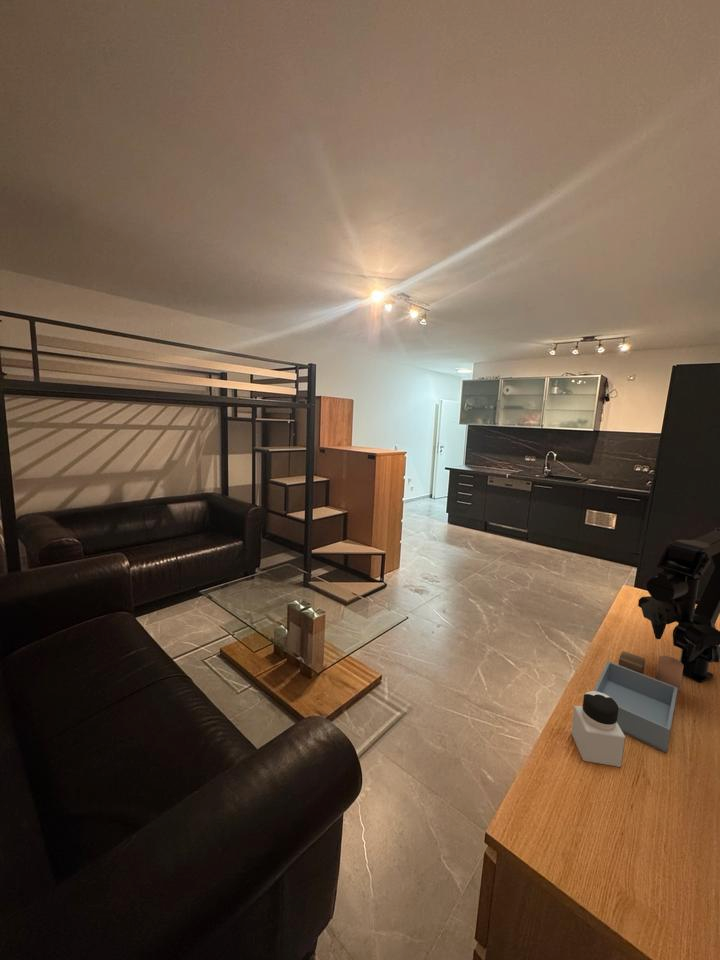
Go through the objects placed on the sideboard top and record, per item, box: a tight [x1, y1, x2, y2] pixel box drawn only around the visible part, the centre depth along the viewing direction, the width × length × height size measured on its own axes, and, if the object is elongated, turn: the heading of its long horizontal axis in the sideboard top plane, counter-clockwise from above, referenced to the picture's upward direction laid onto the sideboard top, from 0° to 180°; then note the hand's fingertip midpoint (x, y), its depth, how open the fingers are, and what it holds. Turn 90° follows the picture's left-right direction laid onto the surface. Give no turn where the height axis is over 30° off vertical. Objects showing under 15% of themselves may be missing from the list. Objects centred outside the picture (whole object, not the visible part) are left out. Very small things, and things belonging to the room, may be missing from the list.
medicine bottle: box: [570, 690, 626, 768], centre depth 78 cm, size 7×7×12 cm
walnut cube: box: [617, 650, 646, 674], centre depth 101 cm, size 5×5×5 cm
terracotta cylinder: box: [655, 655, 684, 694], centre depth 97 cm, size 5×5×7 cm
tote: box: [592, 661, 678, 754], centre depth 89 cm, size 17×14×6 cm
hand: (672, 649), depth 96 cm, fingers open, 9 cm apart
